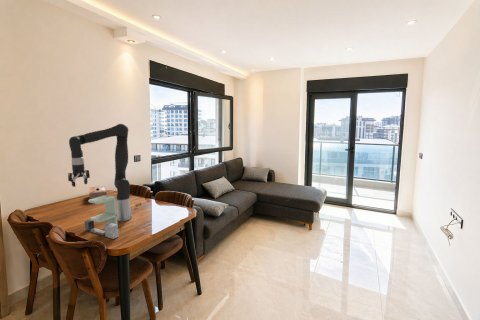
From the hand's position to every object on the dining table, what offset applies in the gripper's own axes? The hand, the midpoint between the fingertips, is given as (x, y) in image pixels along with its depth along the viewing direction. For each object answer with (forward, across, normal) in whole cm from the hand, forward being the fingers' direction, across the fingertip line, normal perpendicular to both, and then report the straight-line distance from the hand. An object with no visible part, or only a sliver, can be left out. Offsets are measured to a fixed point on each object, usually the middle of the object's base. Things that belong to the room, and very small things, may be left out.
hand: (80, 185), depth 185 cm
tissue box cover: (+31, -46, -49) cm, 74 cm away
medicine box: (+30, +5, +38) cm, 49 cm away
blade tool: (+30, +5, +22) cm, 38 cm away
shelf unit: (+30, +4, +29) cm, 42 cm away
